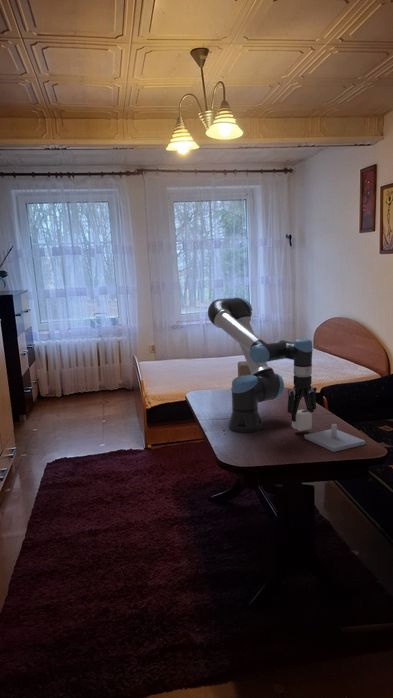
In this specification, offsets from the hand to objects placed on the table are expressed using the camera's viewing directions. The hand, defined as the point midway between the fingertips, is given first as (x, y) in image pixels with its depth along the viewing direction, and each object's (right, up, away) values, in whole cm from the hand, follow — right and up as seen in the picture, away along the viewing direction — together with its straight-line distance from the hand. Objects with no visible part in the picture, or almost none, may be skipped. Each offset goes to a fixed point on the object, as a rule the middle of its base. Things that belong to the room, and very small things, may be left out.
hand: (301, 426), depth 199 cm
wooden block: (-16, +6, +66) cm, 69 cm away
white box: (0, 0, 0) cm, 0 cm away
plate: (+11, -4, -11) cm, 16 cm away
